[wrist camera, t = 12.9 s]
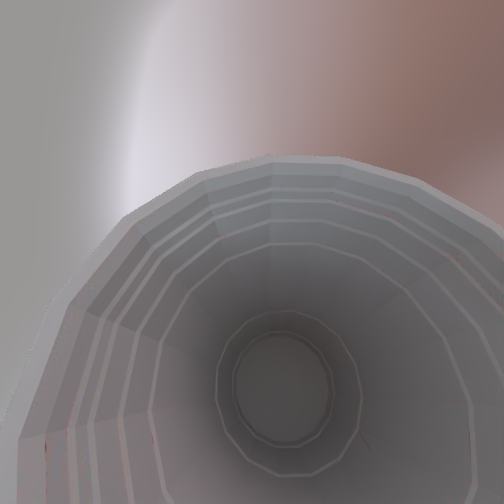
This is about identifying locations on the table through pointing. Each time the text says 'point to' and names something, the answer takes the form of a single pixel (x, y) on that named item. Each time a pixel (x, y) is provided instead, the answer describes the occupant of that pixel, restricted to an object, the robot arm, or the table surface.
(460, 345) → the plastic cup
